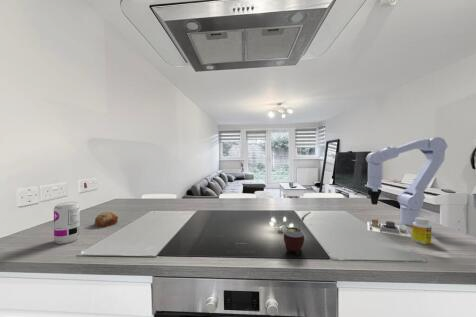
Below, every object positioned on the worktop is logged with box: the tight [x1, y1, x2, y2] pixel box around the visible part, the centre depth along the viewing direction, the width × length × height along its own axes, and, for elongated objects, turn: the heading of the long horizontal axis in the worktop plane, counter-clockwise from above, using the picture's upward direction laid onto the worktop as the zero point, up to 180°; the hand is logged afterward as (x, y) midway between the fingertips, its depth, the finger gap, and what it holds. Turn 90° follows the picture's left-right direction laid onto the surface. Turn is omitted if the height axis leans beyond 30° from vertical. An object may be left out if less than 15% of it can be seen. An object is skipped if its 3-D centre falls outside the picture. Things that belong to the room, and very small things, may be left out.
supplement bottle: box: [411, 216, 432, 245], centre depth 81 cm, size 6×6×10 cm
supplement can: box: [53, 201, 81, 245], centre depth 86 cm, size 8×8×15 cm
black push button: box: [385, 220, 396, 228], centre depth 92 cm, size 3×3×2 cm
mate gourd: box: [283, 211, 312, 257], centre depth 75 cm, size 8×8×15 cm
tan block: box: [371, 217, 379, 227], centre depth 99 cm, size 3×2×3 cm
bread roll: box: [93, 211, 119, 228], centre depth 106 cm, size 10×10×8 cm
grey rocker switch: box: [398, 223, 408, 232], centre depth 91 cm, size 4×2×1 cm, turn 149°
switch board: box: [366, 221, 412, 238], centre depth 95 cm, size 14×15×3 cm
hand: (374, 203), depth 104 cm, fingers closed
